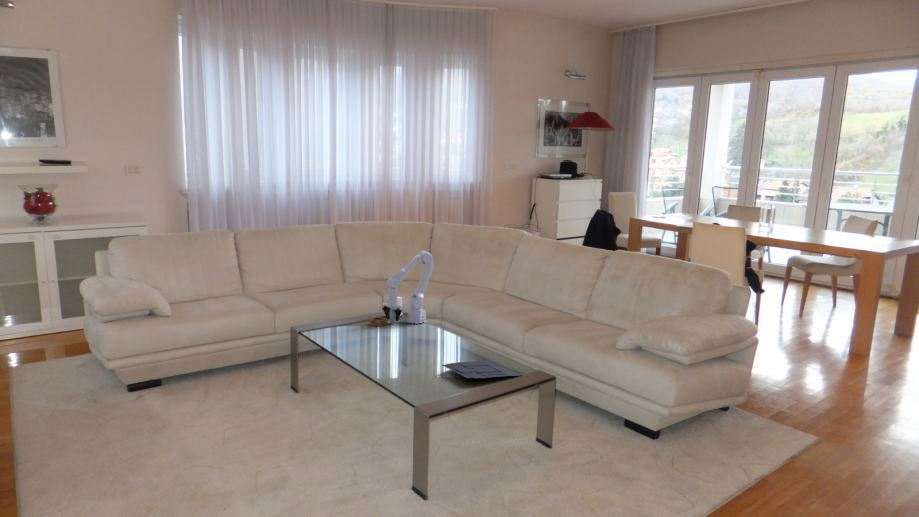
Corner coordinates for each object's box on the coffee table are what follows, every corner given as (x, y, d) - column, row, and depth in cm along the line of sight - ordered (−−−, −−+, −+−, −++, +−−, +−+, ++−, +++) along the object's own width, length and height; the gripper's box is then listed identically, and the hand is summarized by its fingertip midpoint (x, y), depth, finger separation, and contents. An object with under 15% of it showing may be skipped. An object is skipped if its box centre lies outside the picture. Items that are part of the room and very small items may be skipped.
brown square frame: (387, 324, 351) (387, 318, 351) (378, 326, 345) (378, 320, 345) (378, 322, 356) (378, 316, 355) (369, 324, 349) (369, 318, 349)
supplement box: (402, 316, 372) (403, 297, 370) (395, 318, 366) (395, 299, 364) (393, 314, 376) (393, 295, 374) (386, 317, 369) (386, 297, 368)
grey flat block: (438, 369, 268) (438, 361, 268) (489, 366, 285) (490, 359, 285) (468, 385, 248) (469, 377, 248) (521, 381, 266) (522, 373, 265)
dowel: (396, 323, 354) (396, 309, 352) (392, 324, 351) (392, 309, 350) (392, 322, 355) (392, 308, 354) (388, 323, 353) (388, 309, 352)
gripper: (379, 297, 352) (379, 319, 354) (397, 300, 344) (397, 322, 346) (387, 295, 358) (386, 316, 359) (405, 298, 349) (404, 320, 351)
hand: (392, 319), depth 353 cm, fingers open, 7 cm apart
